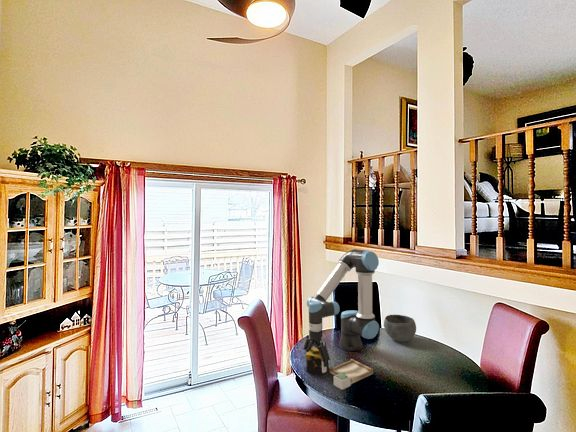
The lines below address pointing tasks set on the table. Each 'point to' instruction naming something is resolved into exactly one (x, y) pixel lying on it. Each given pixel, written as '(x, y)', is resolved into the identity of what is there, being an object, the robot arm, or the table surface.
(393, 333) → the bowl
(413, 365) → the table surface
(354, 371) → the beige square tray
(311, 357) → the candle
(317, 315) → the robot arm
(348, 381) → the button housing
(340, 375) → the button
